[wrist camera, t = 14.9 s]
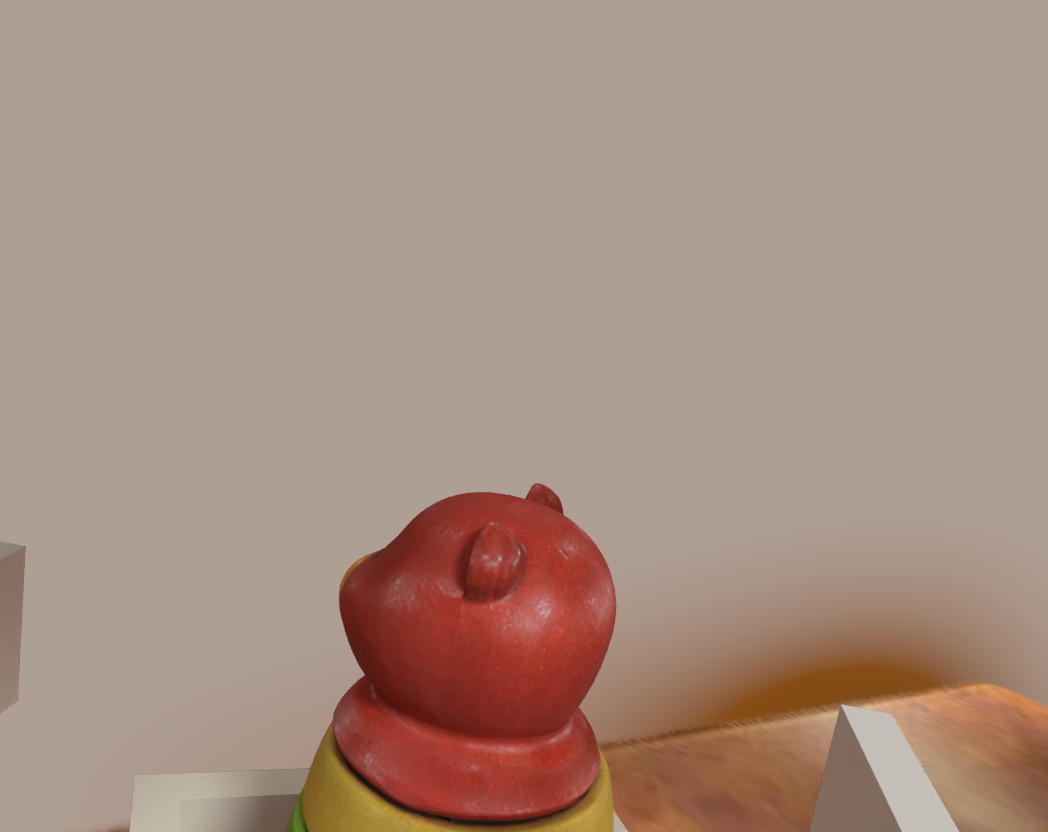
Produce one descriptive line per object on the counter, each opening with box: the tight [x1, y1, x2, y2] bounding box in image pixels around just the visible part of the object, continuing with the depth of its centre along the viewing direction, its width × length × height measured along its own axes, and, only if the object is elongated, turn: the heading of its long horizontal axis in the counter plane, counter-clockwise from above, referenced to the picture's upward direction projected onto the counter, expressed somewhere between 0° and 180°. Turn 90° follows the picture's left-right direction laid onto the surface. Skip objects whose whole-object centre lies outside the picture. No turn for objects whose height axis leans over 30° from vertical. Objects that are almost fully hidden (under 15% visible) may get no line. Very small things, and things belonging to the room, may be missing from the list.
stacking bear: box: [286, 483, 616, 832], centre depth 26 cm, size 11×10×18 cm
